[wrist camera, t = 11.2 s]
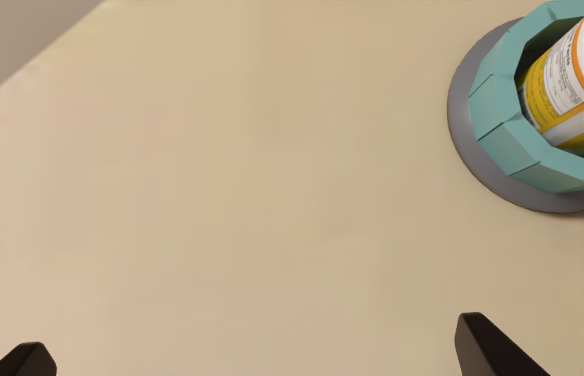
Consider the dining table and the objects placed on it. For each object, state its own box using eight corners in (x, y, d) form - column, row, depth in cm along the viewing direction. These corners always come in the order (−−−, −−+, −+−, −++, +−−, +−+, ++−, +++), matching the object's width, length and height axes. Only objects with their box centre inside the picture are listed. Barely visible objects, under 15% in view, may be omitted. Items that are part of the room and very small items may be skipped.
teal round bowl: (676, 198, 23) (750, 185, 19) (468, 225, 23) (500, 218, 19) (621, 9, 24) (678, -36, 21) (430, 36, 25) (452, -5, 21)
